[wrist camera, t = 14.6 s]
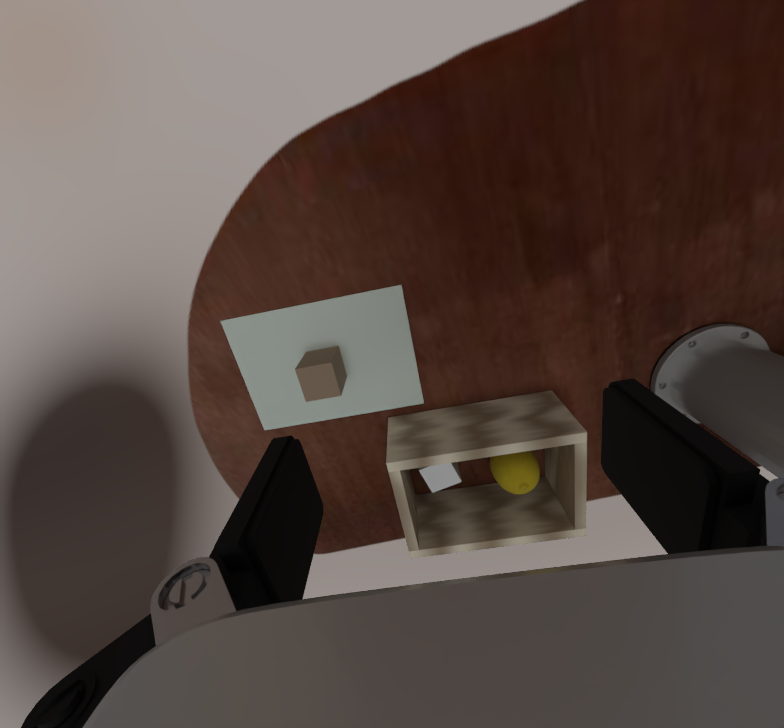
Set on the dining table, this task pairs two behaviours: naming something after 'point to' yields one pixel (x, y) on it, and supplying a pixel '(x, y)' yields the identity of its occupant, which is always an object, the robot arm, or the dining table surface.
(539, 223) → the dining table surface
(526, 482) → the lemon
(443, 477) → the grey cube
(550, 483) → the box
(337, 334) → the lid
